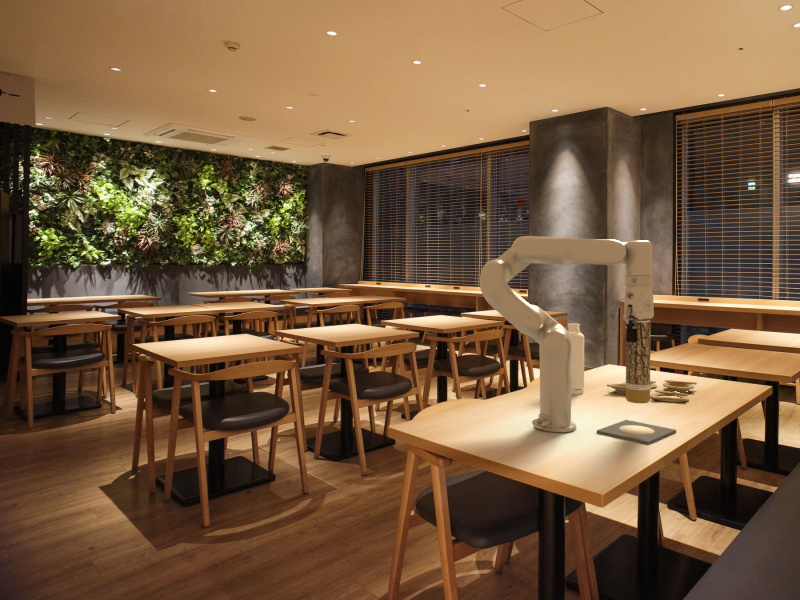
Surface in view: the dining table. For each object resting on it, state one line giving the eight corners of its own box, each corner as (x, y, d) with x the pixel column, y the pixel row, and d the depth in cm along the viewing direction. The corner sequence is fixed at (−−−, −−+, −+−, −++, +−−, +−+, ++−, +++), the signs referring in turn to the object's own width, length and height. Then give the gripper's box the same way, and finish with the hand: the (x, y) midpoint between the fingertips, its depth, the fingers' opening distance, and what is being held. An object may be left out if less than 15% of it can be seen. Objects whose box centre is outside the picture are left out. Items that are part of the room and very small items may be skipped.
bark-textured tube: (652, 404, 167) (652, 320, 166) (628, 403, 169) (628, 320, 167) (647, 399, 174) (647, 318, 173) (623, 398, 175) (624, 318, 174)
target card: (648, 444, 160) (648, 441, 160) (596, 432, 172) (596, 430, 172) (676, 432, 172) (676, 429, 172) (626, 422, 184) (626, 419, 184)
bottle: (581, 395, 224) (581, 325, 223) (560, 392, 229) (561, 324, 227) (586, 391, 231) (586, 323, 230) (566, 389, 236) (566, 322, 234)
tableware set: (684, 406, 205) (684, 395, 205) (603, 396, 223) (603, 386, 223) (701, 389, 233) (701, 380, 233) (627, 382, 251) (628, 373, 251)
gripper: (636, 282, 161) (636, 344, 162) (663, 281, 172) (663, 339, 173) (611, 282, 167) (611, 342, 168) (640, 281, 178) (639, 337, 179)
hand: (638, 340), depth 170 cm, fingers closed on bark-textured tube, 6 cm apart
